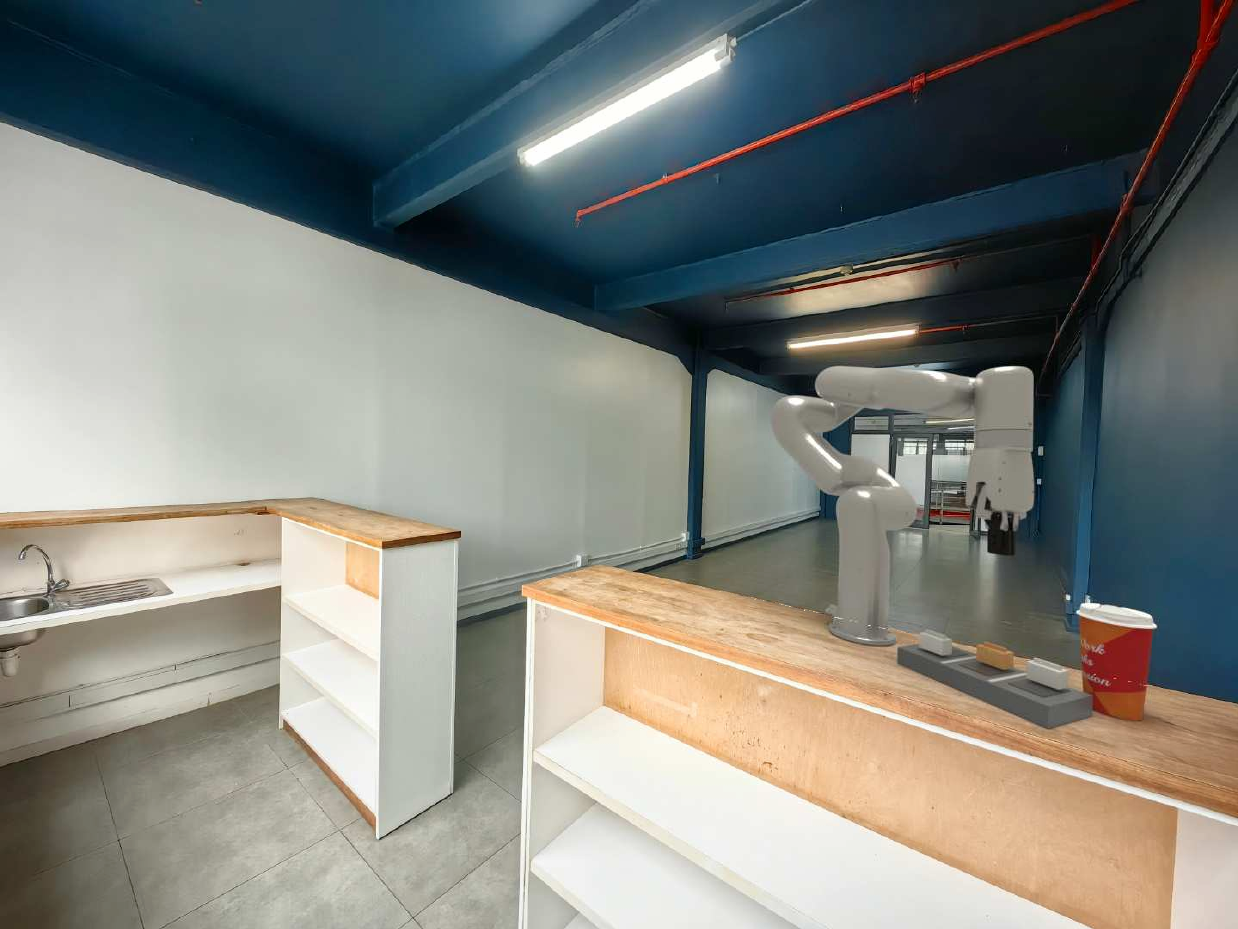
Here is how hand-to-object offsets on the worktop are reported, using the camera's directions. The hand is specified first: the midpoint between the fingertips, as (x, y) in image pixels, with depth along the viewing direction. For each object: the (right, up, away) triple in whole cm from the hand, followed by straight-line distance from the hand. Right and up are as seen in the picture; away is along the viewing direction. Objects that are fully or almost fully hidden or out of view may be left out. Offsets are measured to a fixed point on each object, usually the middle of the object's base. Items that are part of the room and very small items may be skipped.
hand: (1000, 554), depth 76 cm
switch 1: (-7, -18, +5) cm, 20 cm away
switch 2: (-1, -18, 0) cm, 18 cm away
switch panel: (-3, -21, -1) cm, 22 cm away
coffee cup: (+11, -22, -7) cm, 26 cm away
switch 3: (+2, -18, -6) cm, 19 cm away
